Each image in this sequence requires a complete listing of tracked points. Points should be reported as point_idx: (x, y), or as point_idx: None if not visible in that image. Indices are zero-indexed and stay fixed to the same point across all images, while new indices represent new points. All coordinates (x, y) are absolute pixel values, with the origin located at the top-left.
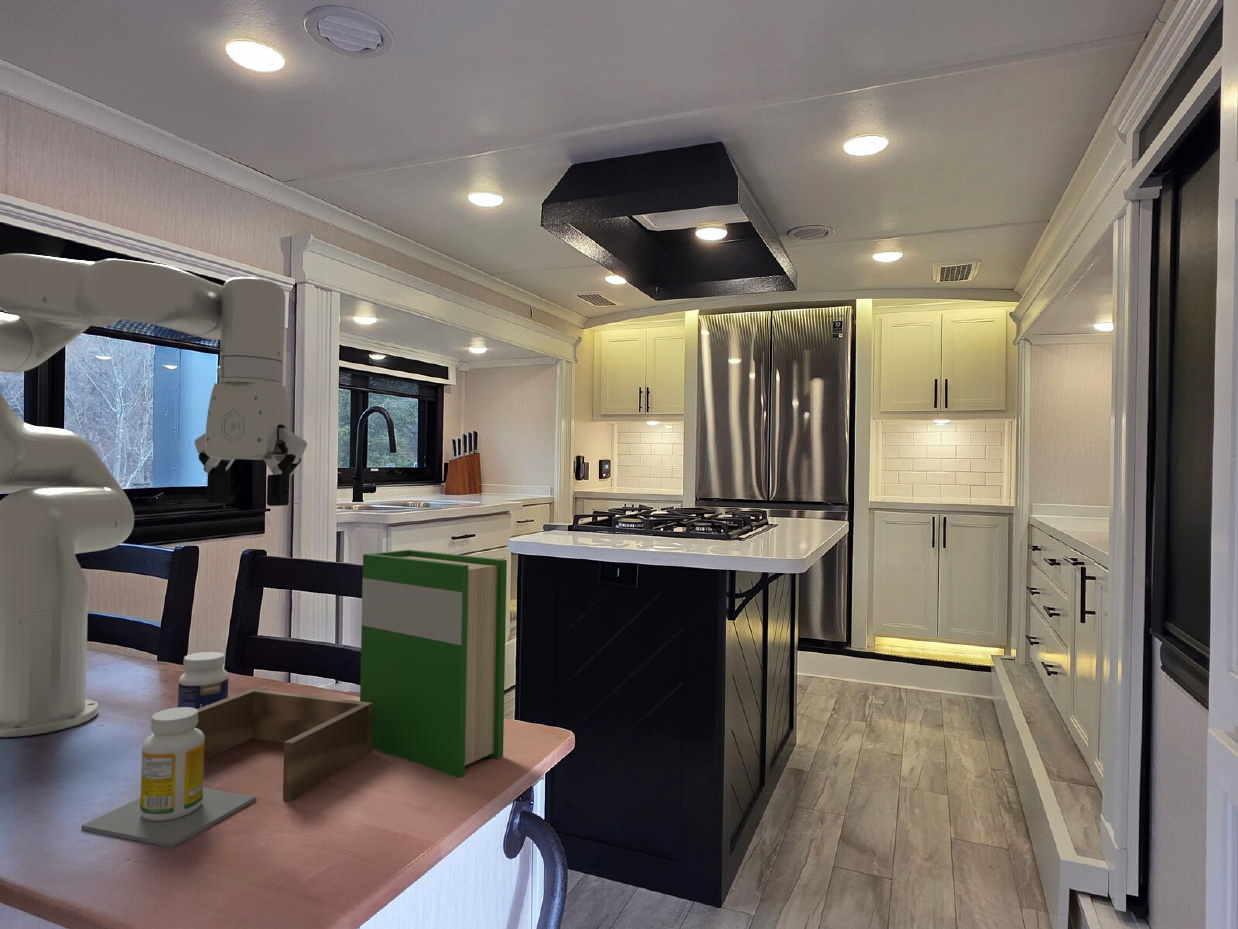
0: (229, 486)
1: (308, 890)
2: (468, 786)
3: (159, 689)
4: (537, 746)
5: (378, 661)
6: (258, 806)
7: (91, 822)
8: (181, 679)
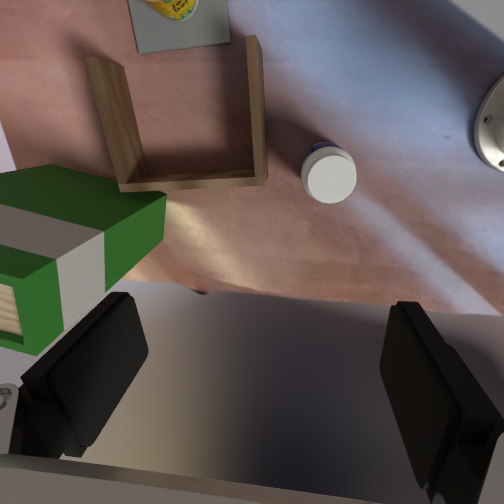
0: (398, 421)
1: None
2: (34, 153)
3: (477, 248)
4: None
5: (96, 210)
6: (129, 46)
7: None
8: (340, 149)
